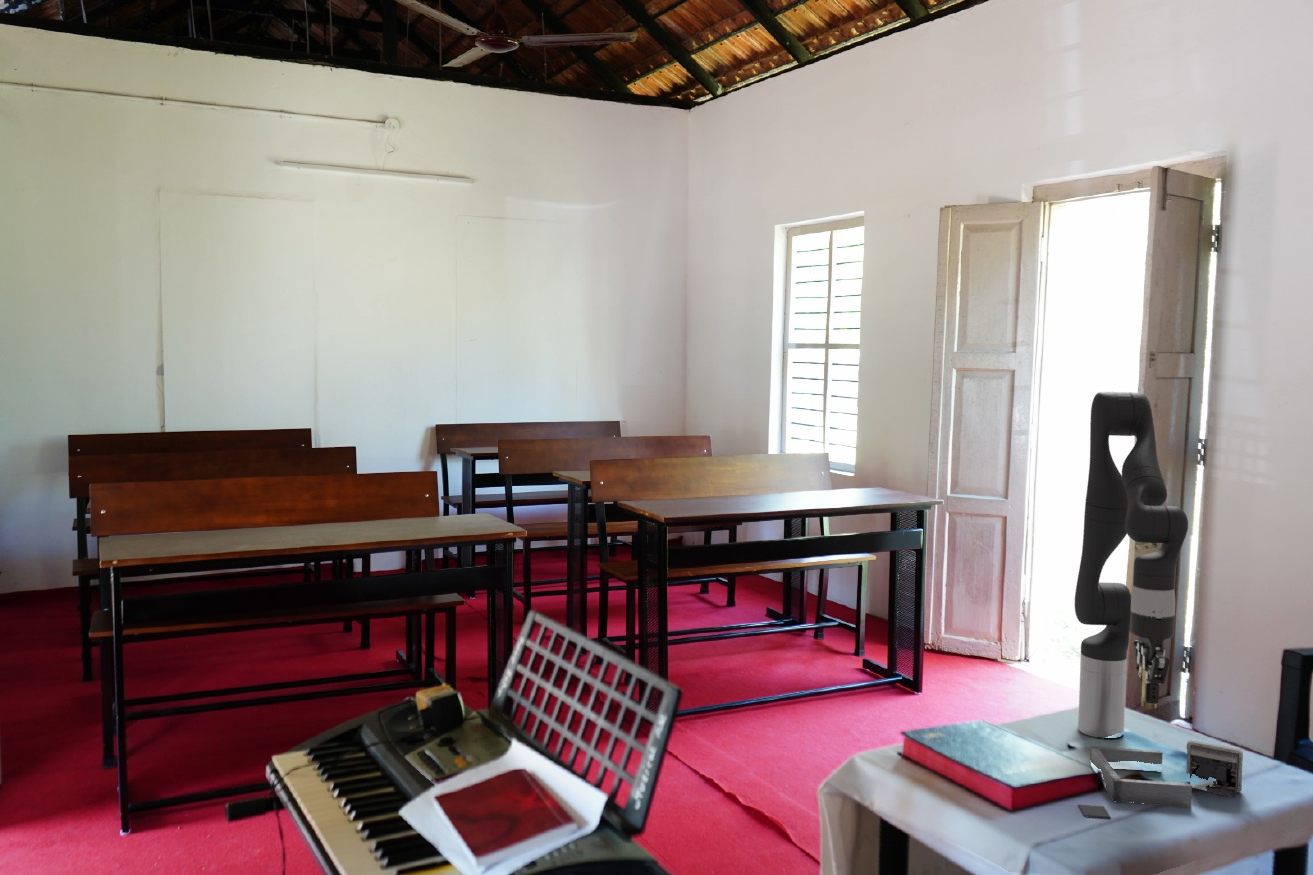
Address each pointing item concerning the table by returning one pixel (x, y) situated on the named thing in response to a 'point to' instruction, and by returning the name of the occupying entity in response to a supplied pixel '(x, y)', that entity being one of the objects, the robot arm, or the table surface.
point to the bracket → (1138, 788)
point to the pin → (1143, 702)
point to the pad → (1094, 811)
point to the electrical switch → (1216, 766)
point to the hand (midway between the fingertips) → (1148, 699)
